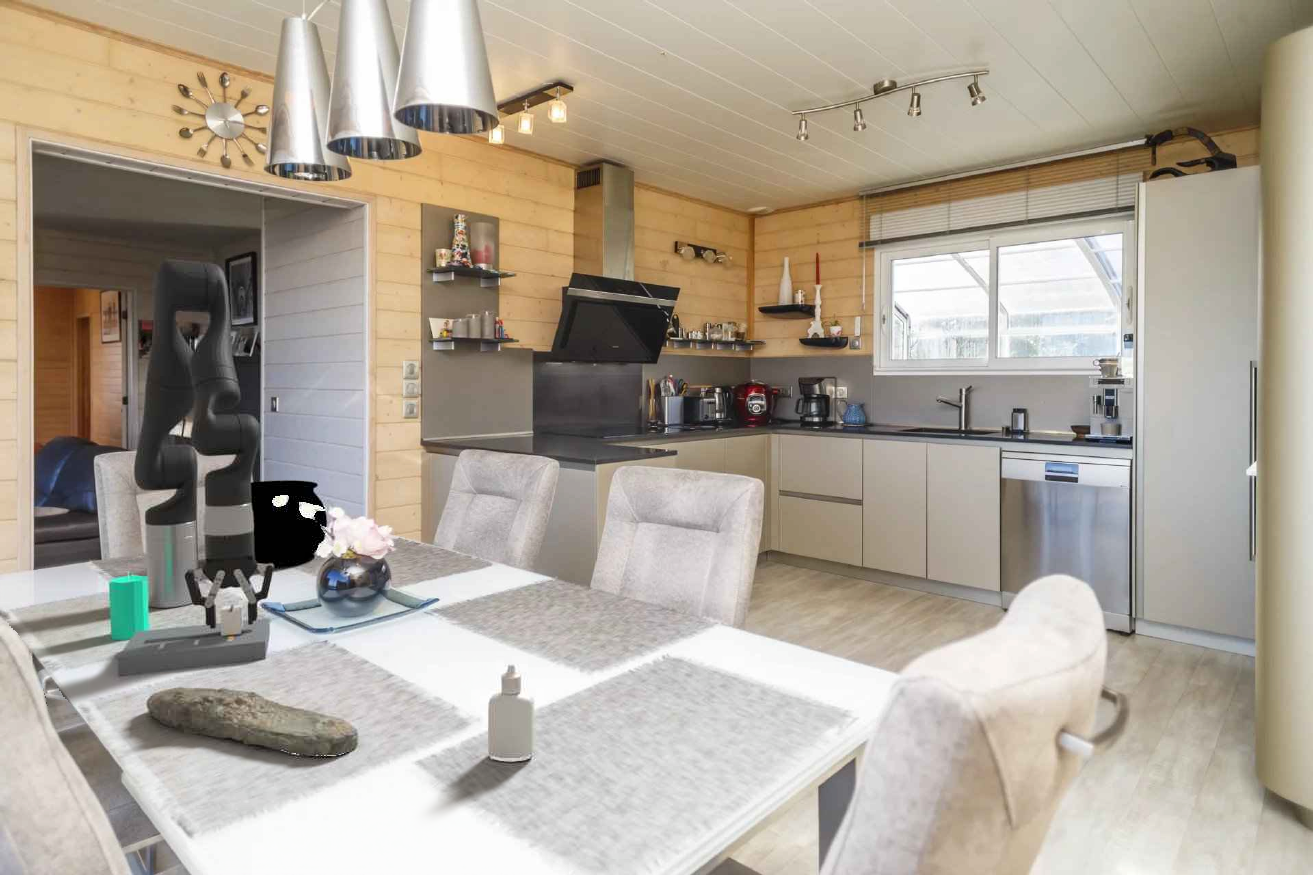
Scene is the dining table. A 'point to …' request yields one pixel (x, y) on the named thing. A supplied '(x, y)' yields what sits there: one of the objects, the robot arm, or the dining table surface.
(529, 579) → the dining table surface
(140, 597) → the candle
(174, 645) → the fader console
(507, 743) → the eye dropper bottle
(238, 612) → the fader
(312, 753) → the long grey stone
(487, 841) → the dining table surface
